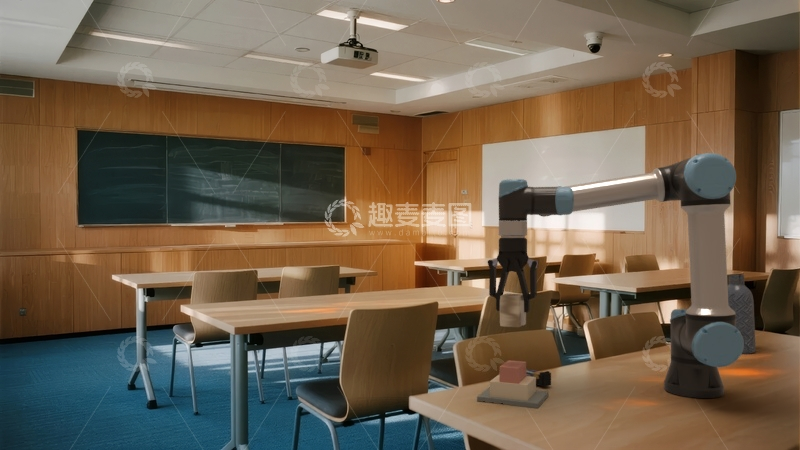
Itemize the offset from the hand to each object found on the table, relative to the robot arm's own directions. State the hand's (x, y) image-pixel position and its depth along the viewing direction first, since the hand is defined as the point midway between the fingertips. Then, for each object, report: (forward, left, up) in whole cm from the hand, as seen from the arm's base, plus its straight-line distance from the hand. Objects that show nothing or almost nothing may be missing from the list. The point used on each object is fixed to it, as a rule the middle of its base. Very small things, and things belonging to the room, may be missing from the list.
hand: (512, 323), depth 170 cm
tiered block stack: (0, 0, -20) cm, 20 cm away
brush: (0, -19, -20) cm, 28 cm away
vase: (-59, -99, -20) cm, 117 cm away
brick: (0, 0, 0) cm, 0 cm away
